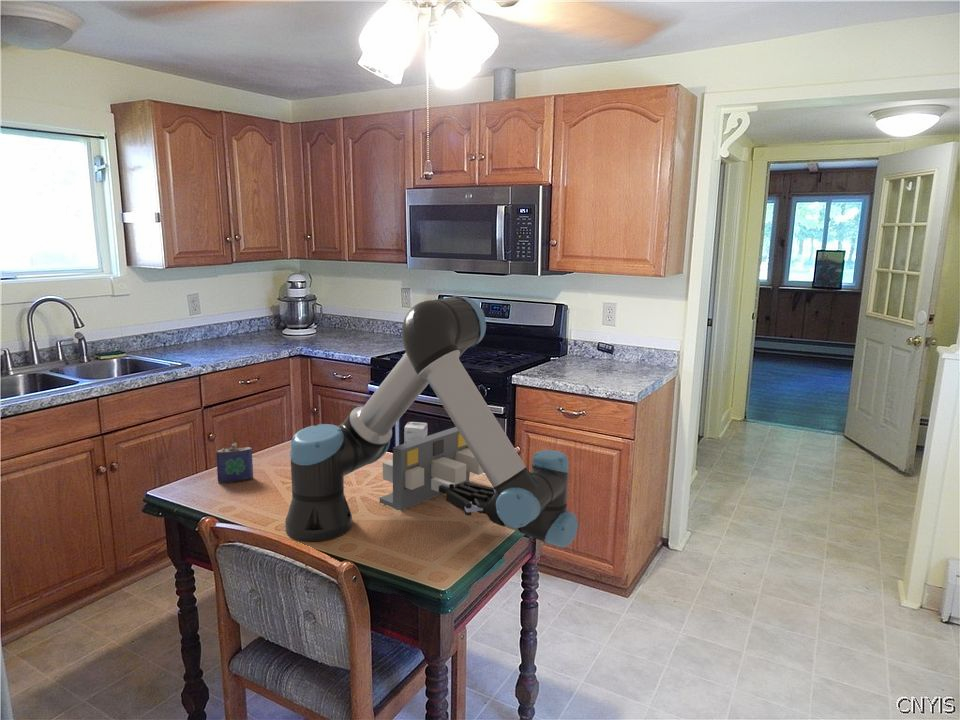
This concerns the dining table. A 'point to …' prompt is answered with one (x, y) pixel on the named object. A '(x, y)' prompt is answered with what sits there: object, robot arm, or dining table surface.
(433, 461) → the button mid
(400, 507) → the light board
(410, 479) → the button left
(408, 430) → the syrup box
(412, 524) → the dining table surface
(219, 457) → the flask
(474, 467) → the button right
